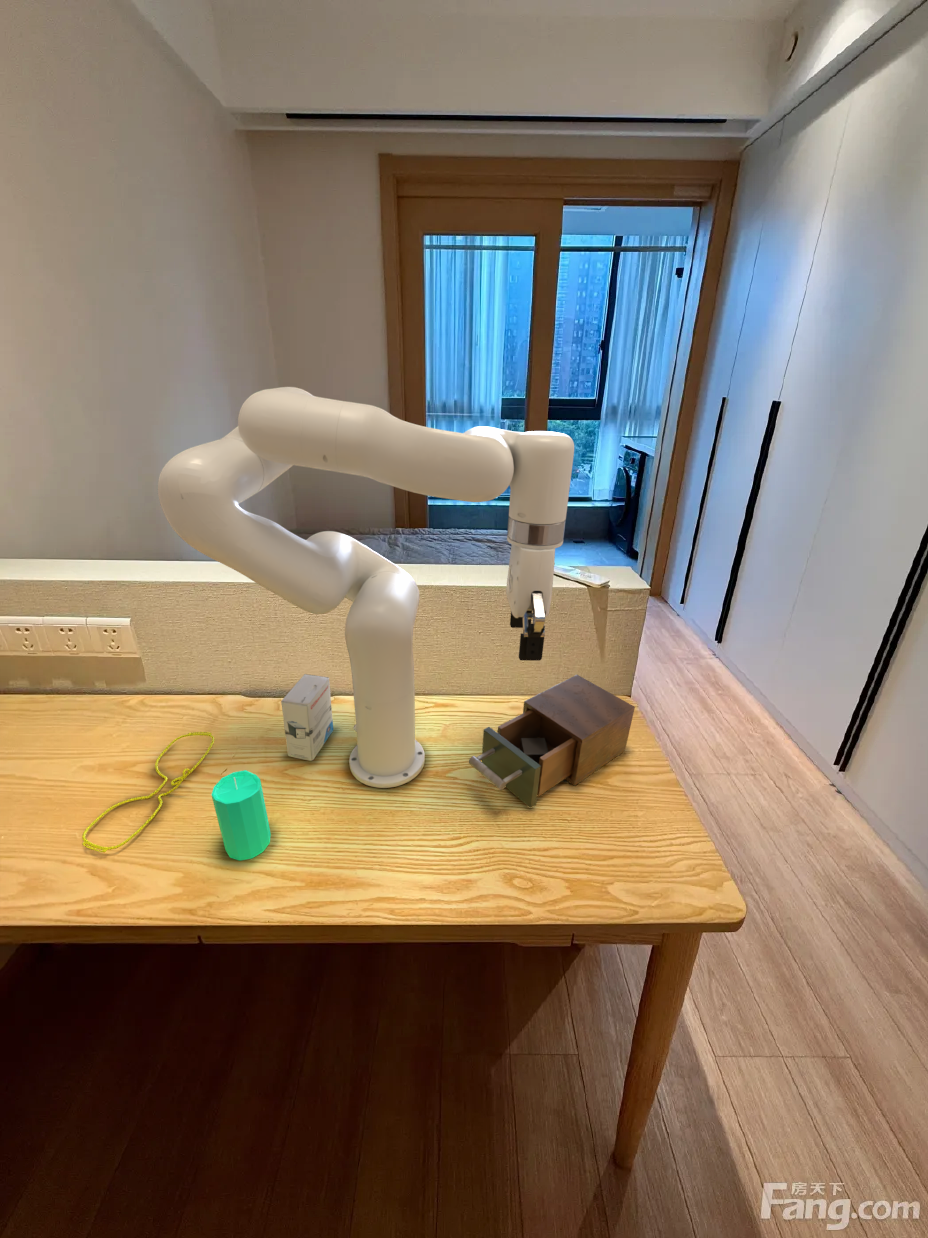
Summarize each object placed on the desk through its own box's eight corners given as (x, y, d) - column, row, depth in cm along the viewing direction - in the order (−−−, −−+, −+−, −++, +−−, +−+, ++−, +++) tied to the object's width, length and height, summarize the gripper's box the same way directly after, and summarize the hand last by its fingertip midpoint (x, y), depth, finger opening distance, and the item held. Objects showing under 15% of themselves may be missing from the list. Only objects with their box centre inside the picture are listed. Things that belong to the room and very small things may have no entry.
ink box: (310, 726, 95) (303, 672, 90) (336, 730, 94) (330, 676, 89) (287, 757, 88) (278, 700, 82) (314, 762, 87) (307, 705, 82)
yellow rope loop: (183, 734, 92) (177, 712, 90) (235, 740, 91) (230, 719, 89) (69, 852, 70) (57, 827, 68) (135, 862, 69) (126, 837, 67)
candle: (244, 868, 69) (228, 802, 63) (216, 847, 71) (198, 782, 66) (280, 837, 73) (268, 773, 68) (252, 818, 76) (239, 755, 70)
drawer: (507, 824, 75) (511, 784, 72) (458, 779, 83) (459, 741, 80) (584, 771, 86) (591, 734, 82) (534, 735, 93) (539, 700, 90)
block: (522, 773, 83) (524, 754, 81) (518, 756, 87) (520, 737, 85) (546, 773, 83) (549, 754, 82) (542, 756, 87) (544, 737, 85)
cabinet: (574, 786, 84) (582, 739, 79) (519, 745, 92) (524, 701, 88) (625, 750, 92) (635, 706, 88) (570, 715, 100) (577, 674, 96)
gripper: (500, 512, 76) (494, 616, 84) (516, 551, 61) (506, 674, 68) (550, 513, 77) (539, 616, 84) (579, 552, 61) (562, 674, 69)
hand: (524, 642), depth 76 cm, fingers open, 9 cm apart
